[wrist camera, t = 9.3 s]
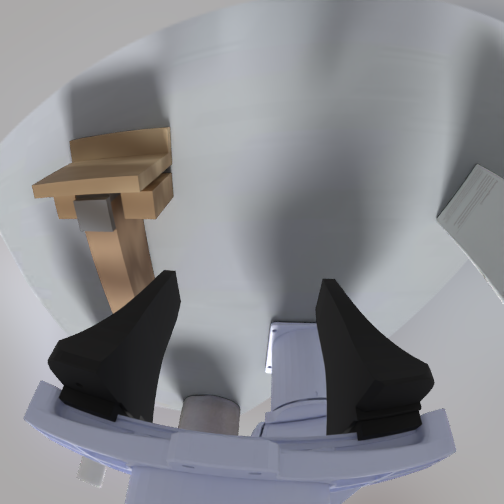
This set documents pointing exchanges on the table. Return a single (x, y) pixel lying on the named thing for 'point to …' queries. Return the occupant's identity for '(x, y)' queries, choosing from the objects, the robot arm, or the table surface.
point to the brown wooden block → (115, 246)
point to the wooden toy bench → (115, 172)
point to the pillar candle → (210, 415)
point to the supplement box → (479, 224)
